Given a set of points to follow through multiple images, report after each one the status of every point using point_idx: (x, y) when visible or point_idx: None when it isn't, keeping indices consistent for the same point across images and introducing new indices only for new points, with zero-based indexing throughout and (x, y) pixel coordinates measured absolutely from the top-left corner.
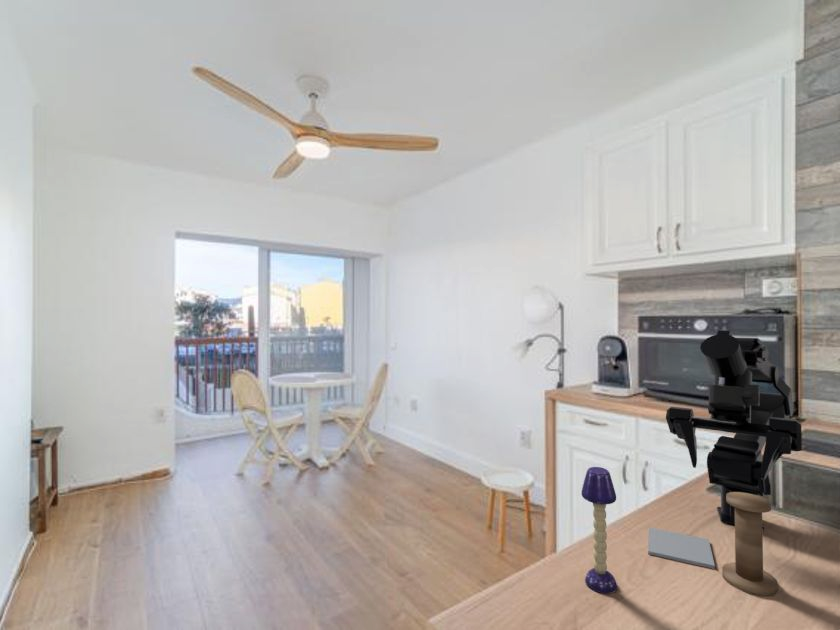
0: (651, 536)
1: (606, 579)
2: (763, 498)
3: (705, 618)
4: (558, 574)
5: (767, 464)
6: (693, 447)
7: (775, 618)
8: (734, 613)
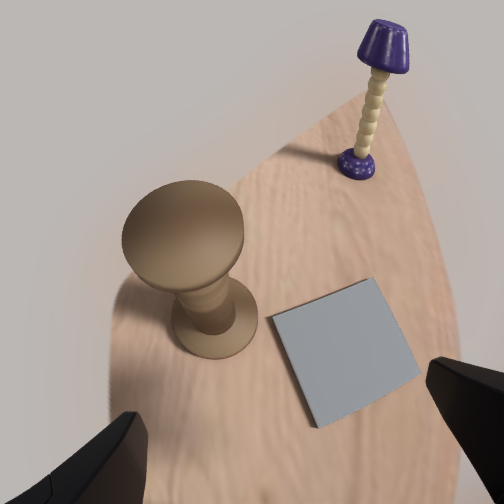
0: (399, 337)
1: (347, 150)
2: (138, 268)
3: (242, 185)
4: (392, 156)
5: (87, 450)
6: (501, 386)
7: None
8: None
